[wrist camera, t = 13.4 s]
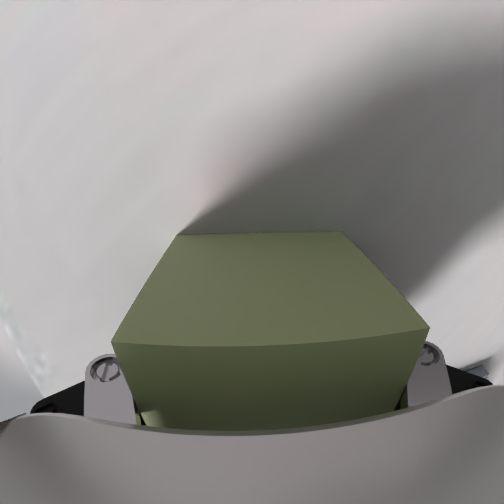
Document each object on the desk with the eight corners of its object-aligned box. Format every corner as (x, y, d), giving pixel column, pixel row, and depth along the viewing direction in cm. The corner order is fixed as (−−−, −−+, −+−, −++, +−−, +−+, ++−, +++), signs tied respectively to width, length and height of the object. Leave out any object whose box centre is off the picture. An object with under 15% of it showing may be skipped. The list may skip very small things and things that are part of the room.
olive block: (176, 234, 10) (110, 341, 5) (342, 231, 10) (430, 327, 5) (194, 360, 12) (175, 476, 7) (325, 356, 12) (360, 466, 7)
